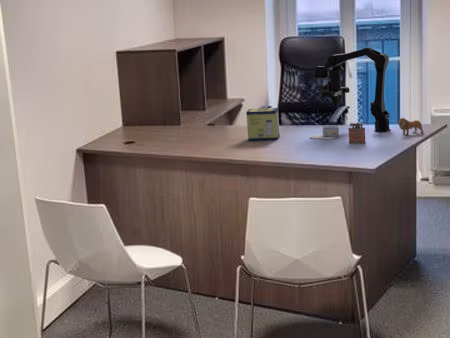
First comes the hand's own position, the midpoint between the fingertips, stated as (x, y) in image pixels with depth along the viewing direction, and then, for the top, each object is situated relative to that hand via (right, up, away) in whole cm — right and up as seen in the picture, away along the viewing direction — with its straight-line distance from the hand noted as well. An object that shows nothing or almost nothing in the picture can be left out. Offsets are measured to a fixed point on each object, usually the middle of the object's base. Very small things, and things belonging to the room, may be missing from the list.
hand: (336, 108), depth 382 cm
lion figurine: (+34, -15, -24) cm, 44 cm away
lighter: (+5, -20, -36) cm, 41 cm away
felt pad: (-8, -16, -15) cm, 23 cm away
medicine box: (-5, -12, -10) cm, 16 cm away
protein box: (-39, -17, -7) cm, 43 cm away
